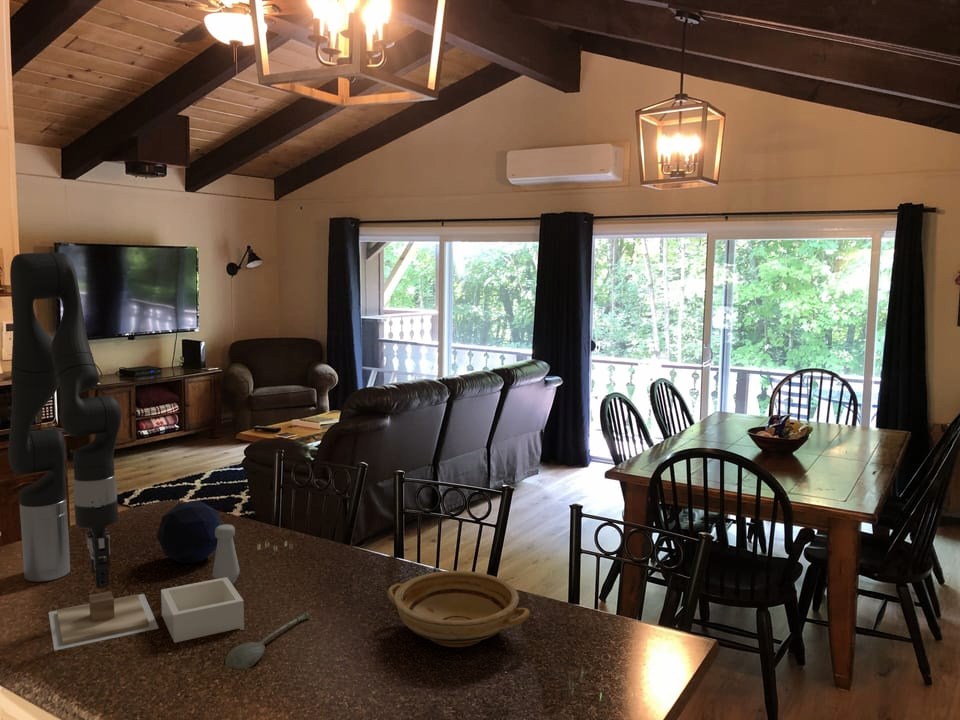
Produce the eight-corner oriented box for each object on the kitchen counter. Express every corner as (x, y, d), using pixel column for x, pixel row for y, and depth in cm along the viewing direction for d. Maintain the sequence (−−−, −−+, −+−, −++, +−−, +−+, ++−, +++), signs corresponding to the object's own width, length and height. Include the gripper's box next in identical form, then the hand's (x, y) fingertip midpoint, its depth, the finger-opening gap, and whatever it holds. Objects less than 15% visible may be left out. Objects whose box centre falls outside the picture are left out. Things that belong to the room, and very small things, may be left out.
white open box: (162, 618, 161) (160, 589, 160) (227, 604, 168) (227, 577, 167) (174, 645, 150) (173, 615, 149) (244, 629, 157) (243, 600, 156)
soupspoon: (216, 670, 144) (245, 680, 141) (216, 653, 143) (245, 662, 141) (293, 616, 164) (320, 624, 161) (293, 601, 163) (320, 608, 160)
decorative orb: (208, 520, 203) (174, 483, 194) (246, 533, 195) (213, 494, 186) (169, 567, 195) (132, 530, 186) (207, 582, 187) (170, 544, 178)
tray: (48, 614, 162) (48, 612, 162) (144, 596, 171) (144, 593, 171) (54, 653, 147) (54, 650, 147) (158, 631, 156) (158, 628, 156)
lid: (57, 613, 161) (56, 590, 161) (137, 597, 169) (136, 576, 168) (62, 645, 149) (61, 620, 148) (149, 626, 156) (148, 603, 156)
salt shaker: (231, 588, 176) (229, 531, 174) (207, 586, 177) (205, 529, 175) (244, 578, 181) (243, 522, 180) (221, 576, 182) (219, 520, 181)
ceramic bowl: (547, 621, 162) (548, 584, 161) (504, 679, 140) (505, 636, 139) (417, 595, 174) (417, 560, 173) (358, 645, 151) (358, 605, 150)
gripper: (71, 492, 160) (75, 571, 162) (77, 512, 147) (82, 596, 149) (112, 487, 163) (116, 564, 165) (121, 506, 151) (125, 588, 153)
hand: (100, 579), depth 157 cm, fingers open, 8 cm apart
